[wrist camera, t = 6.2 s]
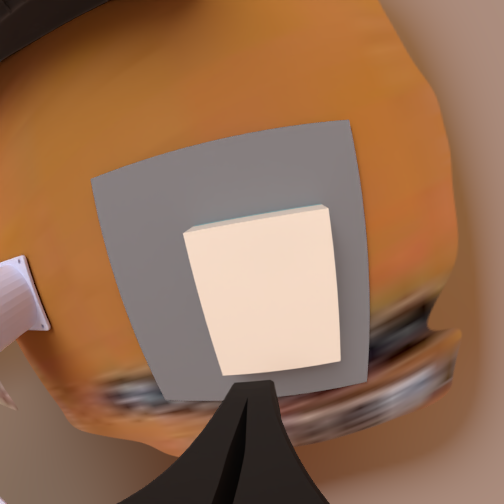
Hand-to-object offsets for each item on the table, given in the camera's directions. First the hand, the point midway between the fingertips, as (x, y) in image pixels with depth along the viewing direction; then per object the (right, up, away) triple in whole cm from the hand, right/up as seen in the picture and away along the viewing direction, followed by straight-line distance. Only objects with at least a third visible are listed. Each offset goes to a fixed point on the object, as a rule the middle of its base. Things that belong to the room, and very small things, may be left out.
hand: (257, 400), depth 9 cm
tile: (-3, +2, +9) cm, 10 cm away
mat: (-1, +2, +10) cm, 11 cm away
